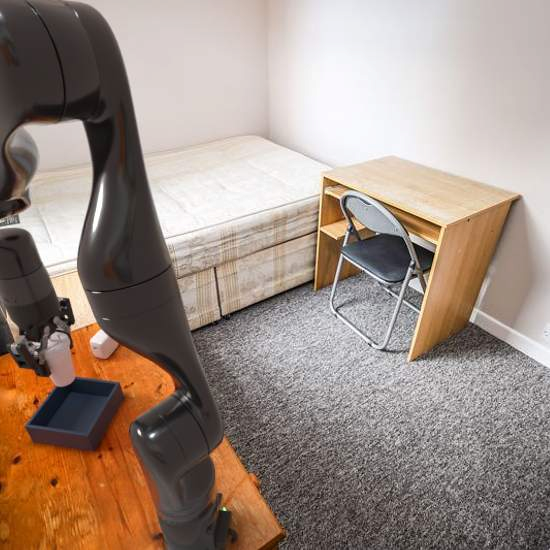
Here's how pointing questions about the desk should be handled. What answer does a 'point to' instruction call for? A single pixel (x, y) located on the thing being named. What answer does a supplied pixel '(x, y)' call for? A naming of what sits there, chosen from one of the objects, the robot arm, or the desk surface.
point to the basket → (76, 414)
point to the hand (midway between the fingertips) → (57, 361)
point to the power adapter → (102, 345)
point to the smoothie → (59, 359)
